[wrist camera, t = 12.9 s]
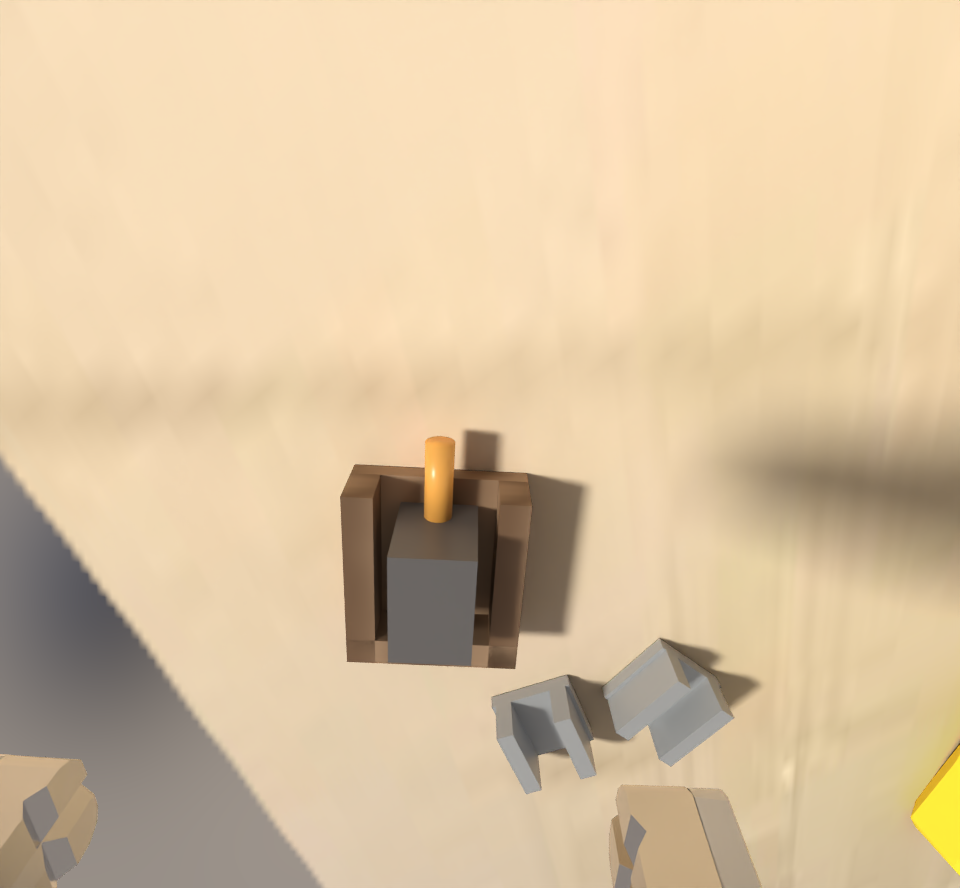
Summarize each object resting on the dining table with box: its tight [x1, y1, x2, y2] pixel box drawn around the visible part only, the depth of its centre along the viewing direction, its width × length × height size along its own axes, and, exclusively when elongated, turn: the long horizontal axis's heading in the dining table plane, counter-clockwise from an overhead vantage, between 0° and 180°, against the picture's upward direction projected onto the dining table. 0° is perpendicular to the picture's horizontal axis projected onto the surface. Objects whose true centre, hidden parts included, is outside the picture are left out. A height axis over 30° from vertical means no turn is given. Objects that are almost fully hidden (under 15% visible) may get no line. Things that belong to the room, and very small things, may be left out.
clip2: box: [492, 675, 597, 794], centre depth 37 cm, size 5×5×3 cm
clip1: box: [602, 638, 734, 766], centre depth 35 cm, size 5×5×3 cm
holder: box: [340, 465, 532, 669], centre depth 31 cm, size 9×10×4 cm
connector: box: [387, 436, 478, 666], centre depth 29 cm, size 4×10×5 cm, turn 177°
